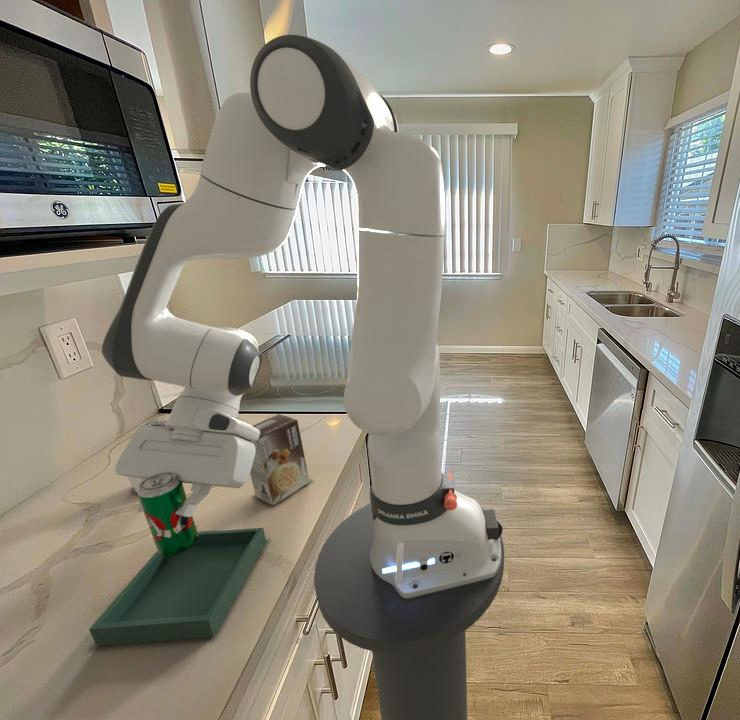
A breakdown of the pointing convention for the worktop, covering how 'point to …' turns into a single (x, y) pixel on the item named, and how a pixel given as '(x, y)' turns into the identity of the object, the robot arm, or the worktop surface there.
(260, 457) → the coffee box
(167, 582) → the tray
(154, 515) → the soda can
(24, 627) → the worktop surface
